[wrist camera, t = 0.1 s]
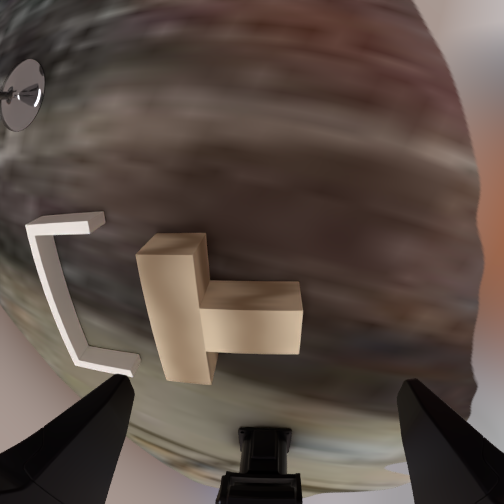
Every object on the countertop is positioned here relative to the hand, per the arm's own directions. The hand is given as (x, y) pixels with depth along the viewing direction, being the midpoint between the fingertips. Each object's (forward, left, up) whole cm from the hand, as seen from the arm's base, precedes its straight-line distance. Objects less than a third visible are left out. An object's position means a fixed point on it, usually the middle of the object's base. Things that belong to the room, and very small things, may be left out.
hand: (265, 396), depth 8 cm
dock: (-6, +16, -15) cm, 23 cm away
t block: (-6, +3, -15) cm, 16 cm away
